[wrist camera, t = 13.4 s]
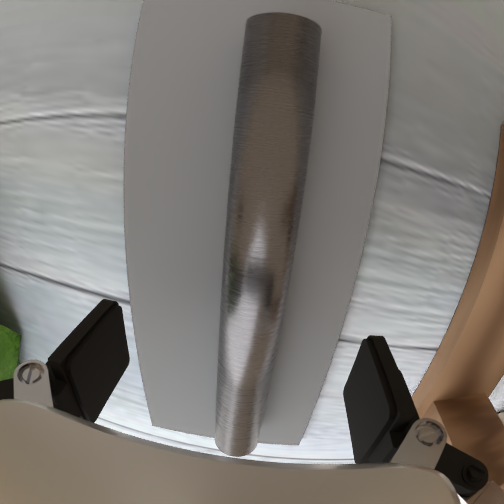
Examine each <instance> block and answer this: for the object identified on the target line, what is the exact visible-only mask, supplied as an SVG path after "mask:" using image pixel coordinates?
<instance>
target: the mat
mask: <svg viewBox="0 0 504 504" xmlns="http://www.w3.org/2000/svg"><path fill="white" fill-rule="evenodd" d="M268 12H281V13H290V14H295V15H299V16H303V17H306V18H308V19H311V20H313V21H314V22H316V23H317V24H319V25H320V27H321V29H322V33H321V46H320V58H319V69H318V79H317V90H316V99H315V109H314V118H313V126H312V135H311V143H310V151H309V159H308V167H307V174H306V181H305V189H304V196H303V203H302V210H301V216H300V223H299V229H298V236H297V242H296V249H295V255H294V261H293V267H292V273H291V279H290V284H289V290H288V296H287V301H286V307H285V312H284V318H283V323H282V328H281V334H280V339H279V344H278V349H277V354H276V359H275V364H274V369H273V374H272V379H271V383H270V388H269V393H268V397H267V402H266V407H265V411H264V416H263V420H262V424H261V429H260V433H259V437H258V442H257V443H266V444H282V445H299V443H300V441H301V439H302V436H303V434H304V432H305V429H306V427H307V424H308V422H309V420H310V417H311V415H312V412H313V410H314V407H315V404H316V402H317V399H318V397H319V394H320V391H321V389H322V386H323V383H324V380H325V378H326V375H327V372H328V369H329V366H330V363H331V360H332V357H333V354H334V351H335V348H336V345H337V342H338V339H339V336H340V333H341V330H342V326H343V323H344V320H345V316H346V313H347V310H348V306H349V303H350V299H351V295H352V292H353V288H354V284H355V280H356V277H357V273H358V269H359V265H360V261H361V257H362V252H363V248H364V244H365V239H366V235H367V230H368V226H369V221H370V216H371V211H372V206H373V200H374V195H375V190H376V184H377V178H378V172H379V166H380V159H381V152H382V145H383V138H384V130H385V121H386V112H387V101H388V90H389V76H390V58H391V16H389V15H385V14H382V13H379V12H375V11H372V10H368V9H364V8H360V7H356V6H352V5H348V4H344V3H339V2H334V1H329V0H143V4H142V8H141V13H140V18H139V23H138V29H137V34H136V40H135V46H134V52H133V59H132V66H131V74H130V83H129V92H128V102H127V114H126V128H125V148H124V228H125V248H126V263H127V275H128V286H129V296H130V305H131V313H132V321H133V328H134V335H135V342H136V348H137V354H138V360H139V365H140V371H141V376H142V381H143V386H144V391H145V396H146V400H147V405H148V409H149V414H150V418H151V422H152V426H156V427H161V428H165V429H169V430H174V431H179V432H184V433H189V434H195V435H200V436H207V437H213V438H215V419H216V389H217V364H218V342H219V322H220V304H221V287H222V271H223V256H224V242H225V228H226V215H227V202H228V190H229V178H230V167H231V155H232V145H233V134H234V124H235V114H236V104H237V95H238V86H239V77H240V68H241V59H242V51H243V42H244V34H245V26H246V20H247V19H248V18H249V17H251V16H253V15H256V14H260V13H268Z"/></svg>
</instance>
